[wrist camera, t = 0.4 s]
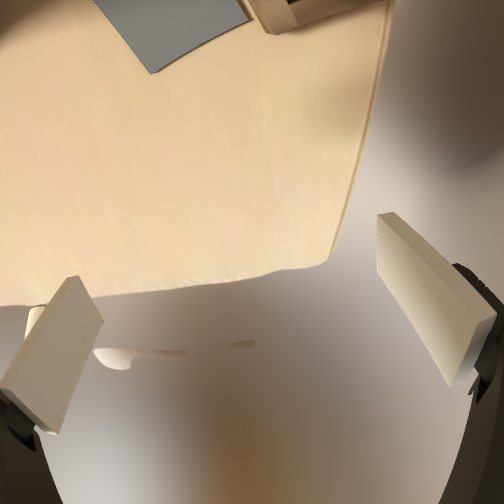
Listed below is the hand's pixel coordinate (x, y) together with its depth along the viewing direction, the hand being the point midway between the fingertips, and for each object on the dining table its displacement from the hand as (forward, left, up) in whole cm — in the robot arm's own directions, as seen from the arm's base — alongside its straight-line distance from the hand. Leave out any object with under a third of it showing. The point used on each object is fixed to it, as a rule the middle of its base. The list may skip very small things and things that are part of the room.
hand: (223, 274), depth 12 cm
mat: (-11, +4, -21) cm, 24 cm away
